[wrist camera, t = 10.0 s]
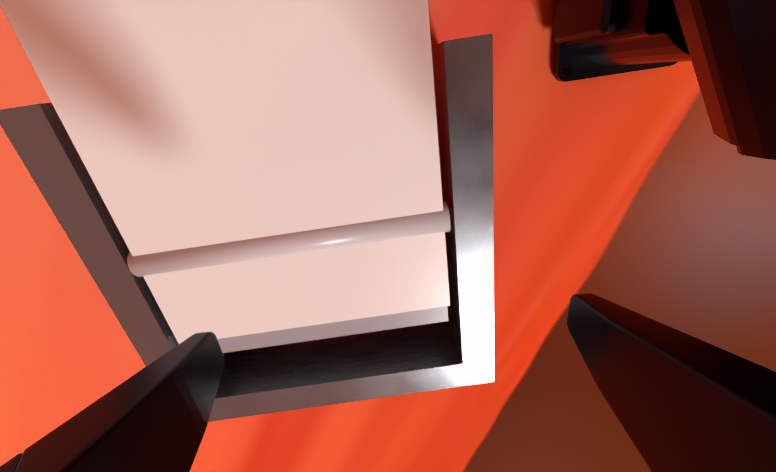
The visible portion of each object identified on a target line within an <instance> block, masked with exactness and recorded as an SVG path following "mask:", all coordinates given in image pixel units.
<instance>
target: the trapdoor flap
mask: <svg viewBox="0 0 776 472" xmlns="http://www.w3.org/2000/svg"><path fill="white" fill-rule="evenodd" d="M0 6H1V8H2V9H3V11H4V13H5V15H6V17H7V19H8V21H9V23H10V25H11V27H12V28H13V30H14V32H15V34H16V36H17V38H18V40H19V42H20V44H21V46H22V47H23V49H24V51H25V53H26V55H27V57H28V59H29V61H30V63H31V64H32V66H33V68H34V70H35V72H36V74H37V76H38V78H39V80H40V82H41V83H42V85H43V87H44V89H45V91H46V93H47V95H48V97H49V99H50V101H51V102H52V104H53V106H54V108H55V110H56V112H57V114H58V116H59V118H60V120H61V121H62V123H63V125H64V127H65V129H66V131H67V133H68V135H69V137H70V139H71V140H72V142H73V144H74V146H75V148H76V150H77V152H78V154H79V156H80V157H81V159H82V161H83V163H84V165H85V167H86V169H87V171H88V173H89V175H90V176H91V178H92V180H93V182H94V184H95V186H96V188H97V190H98V192H99V194H100V195H101V197H102V199H103V201H104V203H105V205H106V207H107V209H108V211H109V213H110V214H111V216H112V218H113V220H114V222H115V224H116V226H117V228H118V230H119V232H120V233H121V235H122V237H123V239H124V241H125V243H126V245H127V247H128V249H129V250H130V252H129V254H128V257H127V264H128V268H129V270H130V271H131V273H132V274H133V275H135V276H137V277H144V279H145V281H146V283H147V285H148V287H149V288H150V290H151V292H152V294H153V296H154V298H155V300H156V302H157V304H158V306H159V307H160V309H161V311H162V313H163V315H164V317H165V319H166V321H167V323H168V325H169V326H170V328H171V330H172V332H173V334H174V336H175V338H176V340H177V342H178V343H179V344H180V343H182V342H183V341H184V340H186V339H187V338H189V337H190V336H192V335H193V334H195V333H200V332H213V333H214V334H215V335H216V337H217V340H218V342H219V345H220V347H221V350H222V352H223V353H227V352H234V351H241V350H248V349H255V348H262V347H269V346H276V345H283V344H290V343H297V342H305V341H312V340H319V339H326V338H333V337H340V336H347V335H354V334H361V333H368V332H375V331H382V330H389V329H396V328H403V327H410V326H417V325H424V324H431V323H438V322H445V321H448V308H447V306H450V295H449V282H448V268H447V254H446V241H445V232H450V227H451V225H450V215H449V210H448V206H447V203H446V202H443V200H442V186H441V172H440V159H439V145H438V132H437V118H436V104H435V91H434V77H433V63H432V50H431V36H430V22H429V9H428V0H0Z"/></svg>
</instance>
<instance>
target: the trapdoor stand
mask: <svg viewBox="0 0 776 472" xmlns="http://www.w3.org/2000/svg"><path fill="white" fill-rule="evenodd" d="M431 50H432V63H433V77H434V91H435V104H436V118H437V132H438V145H439V159H440V172H441V186H442V200H443V202H446V203H447V206H448V210H449V215H450V225H451V227H450V232H445V241H446V254H447V268H448V282H449V295H450V306H447V308H448V321H445V322H438V323H431V324H424V325H417V326H410V327H403V328H396V329H389V330H382V331H375V332H368V333H361V334H354V335H347V336H340V337H333V338H326V339H319V340H312V341H305V342H297V343H290V344H283V345H276V346H269V347H262V348H255V349H248V350H241V351H234V352H227V353H223V355H224V367H223V371H222V374H221V378H220V382H219V385H218V389H217V392H216V396H215V400H214V403H213V407H212V410H211V414H210V417H209V421H216V420H224V419H231V418H238V417H245V416H252V415H259V414H267V413H274V412H281V411H288V410H295V409H303V408H310V407H317V406H324V405H331V404H339V403H346V402H353V401H360V400H367V399H374V398H382V397H389V396H396V395H403V394H410V393H418V392H425V391H432V390H439V389H446V388H453V387H461V386H468V385H475V384H482V383H489V382H494V239H493V59H492V34H487V35H481V36H474V37H468V38H462V39H455V40H449V41H443V42H441V43H440V44H438V45H436V46H434V47H432V48H431ZM0 125H1V126H2V128H3V130H4V131H5V133H6V135H7V136H8V138H9V140H10V141H11V143H12V145H13V146H14V148H15V150H16V151H17V153H18V155H19V156H20V158H21V160H22V161H23V163H24V165H25V166H26V168H27V169H28V171H29V173H30V174H31V176H32V178H33V179H34V181H35V183H36V184H37V186H38V188H39V189H40V191H41V193H42V194H43V196H44V198H45V199H46V201H47V203H48V204H49V206H50V208H51V209H52V211H53V213H54V214H55V216H56V218H57V219H58V221H59V223H60V224H61V226H62V228H63V229H64V231H65V232H66V234H67V236H68V237H69V239H70V241H71V242H72V244H73V246H74V247H75V249H76V251H77V252H78V254H79V256H80V257H81V259H82V261H83V262H84V264H85V266H86V267H87V269H88V271H89V272H90V274H91V276H92V277H93V279H94V281H95V282H96V284H97V286H98V287H99V289H100V291H101V292H102V294H103V296H104V297H105V299H106V300H107V302H108V304H109V305H110V307H111V309H112V310H113V312H114V314H115V315H116V317H117V319H118V320H119V322H120V324H121V325H122V327H123V329H124V330H125V332H126V334H127V335H128V337H129V339H130V340H131V342H132V344H133V345H134V347H135V349H136V350H137V352H138V354H139V355H140V357H141V359H142V360H143V362H144V364H145V365H146V367H147V366H148V365H149V364H151V363H152V362H154V361H155V360H157V359H158V358H160V357H161V356H163V355H164V354H165V353H167V352H168V351H170V350H171V349H173V348H174V347H176V346H177V345H179V343H178V342H177V340H176V338H175V336H174V334H173V332H172V330H171V328H170V326H169V325H168V323H167V321H166V319H165V317H164V315H163V313H162V311H161V309H160V307H159V306H158V304H157V302H156V300H155V298H154V296H153V294H152V292H151V290H150V288H149V287H148V285H147V283H146V281H145V279H144V277H137V276H135V275H133V274H132V273H131V271H130V270H129V268H128V264H127V257H128V254H129V252H130V250H129V249H128V247H127V245H126V243H125V241H124V239H123V237H122V235H121V233H120V232H119V230H118V228H117V226H116V224H115V222H114V220H113V218H112V216H111V214H110V213H109V211H108V209H107V207H106V205H105V203H104V201H103V199H102V197H101V195H100V194H99V192H98V190H97V188H96V186H95V184H94V182H93V180H92V178H91V176H90V175H89V173H88V171H87V169H86V167H85V165H84V163H83V161H82V159H81V157H80V156H79V154H78V152H77V150H76V148H75V146H74V144H73V142H72V140H71V139H70V137H69V135H68V133H67V131H66V129H65V127H64V125H63V123H62V121H61V120H60V118H59V116H58V114H57V112H56V110H55V108H54V106H53V104H52V103H45V104H35V105H29V106H22V107H16V108H9V109H3V110H0ZM209 421H208V422H209Z"/></svg>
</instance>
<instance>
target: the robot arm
mask: <svg viewBox="0 0 776 472" xmlns="http://www.w3.org/2000/svg"><path fill="white" fill-rule="evenodd" d="M553 39H554V41H555V42H556V50H555V65H554V76H555V78H556V79H557V80H558V81H572V80H579V79H585V78H592V77H598V76H605V75H612V74H618V73H625V72H631V71H638V70H644V69H651V68H658V67H664V66H671V65H674V64H675V63H677V62H679V61H692V63H693V67H694V70H695V73H696V76H697V80H698V83H699V86H700V90H701V93H702V96H703V99H704V103H705V106H706V109H707V112H708V115H709V118H710V122H711V125H712V129H713V132H714V134H716V135H717V136H719V137H720V138H722V139H724V140H725V141H727V142H729V143H730V144H733V145H736V147H737V150H738V153H740V154H741V155H747V156H753V157H759V158H764V159H772V160H776V0H555V11H554V28H553ZM565 66H567V67H568V73H567V74H566V75H565V76H564V75H563V72H562V71H563V69H564V67H565ZM567 326H568V329H569V332H570V334H571V336H572V337H573V340H574V341H575V344H576V346H577V347H578V350H579V351H580V353H581V356H582V357H583V359H584V361H585V363H586V365H587V367H588V369H589V371H590V373H591V375H592V377H593V379H594V381H595V383H596V385H597V386H598V388H599V389H600V391H601V393H602V395H603V396H604V398H605V399H606V401H607V402H608V404H609V406H610V407H611V409H612V410H613V412H614V413H615V415H616V416H617V418H618V420H619V421H620V423H621V424H622V426H623V427H624V429H625V431H626V432H627V434H628V435H629V437H630V438H631V440H632V442H633V443H634V445H635V446H636V448H637V449H638V451H639V453H640V454H641V455H642V457H643V459H644V460H645V462H646V464H647V465H648V467H649V468H650V470H651V471H652V472H776V372H775V371H773V370H771V369H768V368H766V367H763V366H761V365H759V364H756V363H754V362H752V361H749V360H747V359H745V358H742V357H740V356H737V355H735V354H733V353H731V352H728V351H726V350H723V349H721V348H719V347H716V346H714V345H711V344H709V343H707V342H705V341H702V340H700V339H698V338H695V337H693V336H690V335H688V334H686V333H683V332H681V331H679V330H676V329H674V328H672V327H669V326H667V325H664V324H662V323H660V322H658V321H655V320H653V319H651V318H648V317H646V316H643V315H641V314H639V313H636V312H634V311H632V310H629V309H627V308H625V307H622V306H620V305H618V304H615V303H613V302H611V301H608V300H606V299H603V298H601V297H599V296H597V295H594V294H592V293H582V294H574V295H573V296H572V297H571V300H570V305H569V311H568V317H567ZM223 367H224V355H223V352H222V350H221V347H220V345H219V342H218V340H217V337H216V335H215V334H214V333H213V332H200V333H195V334H193V335H192V336H190V337H189V338H187V339H186V340H184V341H183V342H182V343H180V344H179V345H177V346H176V347H174V348H173V349H171V350H170V351H168V352H167V353H165V354H164V355H163V356H161V357H160V358H158V359H157V360H155V361H154V362H152V363H151V364H149V365H148V366H147V367H145V368H144V369H142V370H141V371H139V372H138V373H136V374H135V375H133V376H132V377H130V378H129V379H128V380H126V381H125V382H123V383H122V384H120V385H119V386H117V387H116V388H114V389H113V390H112V391H110V392H109V393H107V394H106V395H104V396H103V397H101V398H100V399H98V400H97V401H95V402H94V403H93V404H91V405H90V406H88V407H87V408H85V409H84V410H82V411H81V412H79V413H78V414H77V415H75V416H74V417H72V418H71V419H69V420H68V421H66V422H65V423H63V424H62V425H60V426H59V427H58V428H56V429H55V430H53V431H52V432H50V433H49V434H47V435H46V436H44V437H43V438H41V439H40V440H39V441H37V442H36V443H34V444H33V445H31V446H30V447H28V448H27V449H26V450H25V451H24V452H23V453H20V454H18V455H16V456H15V457H14V458H12V459H11V460H9V461H8V462H6V463H5V464H3V465H2V466H1V467H0V472H189V471H190V469H191V466H192V464H193V461H194V459H195V456H196V453H197V451H198V448H199V446H200V443H201V440H202V438H203V435H204V432H205V430H206V427H207V424H208V421H209V417H210V414H211V410H212V407H213V403H214V400H215V396H216V392H217V389H218V385H219V382H220V378H221V374H222V371H223Z"/></svg>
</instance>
